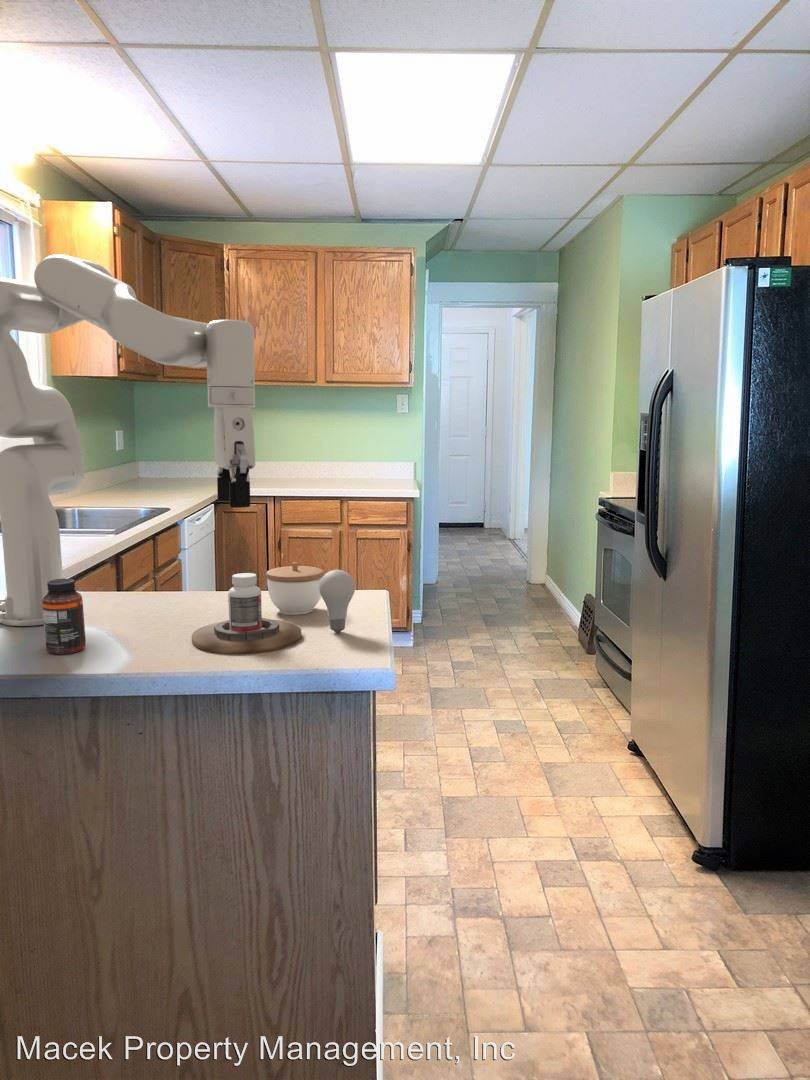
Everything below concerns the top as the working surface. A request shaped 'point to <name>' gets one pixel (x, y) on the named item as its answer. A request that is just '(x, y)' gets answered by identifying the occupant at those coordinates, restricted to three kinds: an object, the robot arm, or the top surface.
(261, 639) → the brown disc with ring
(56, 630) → the supplement bottle
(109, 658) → the top surface
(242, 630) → the pill bottle
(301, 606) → the lidded jar
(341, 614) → the lightbulb
